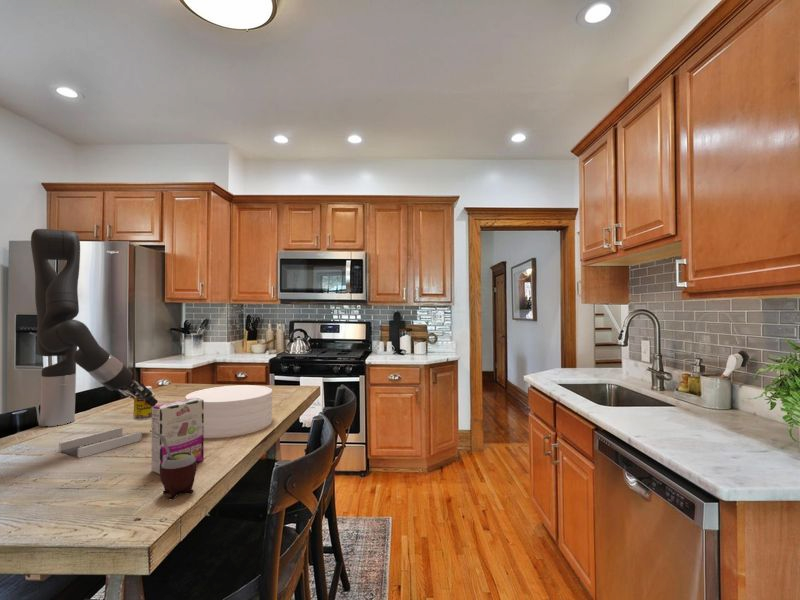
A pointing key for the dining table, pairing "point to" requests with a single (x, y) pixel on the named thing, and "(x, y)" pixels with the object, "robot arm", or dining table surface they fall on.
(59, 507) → the dining table surface
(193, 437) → the candy bar box
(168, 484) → the mate gourd
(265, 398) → the plate stack
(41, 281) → the robot arm
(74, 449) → the trap channel
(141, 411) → the supplement bottle
